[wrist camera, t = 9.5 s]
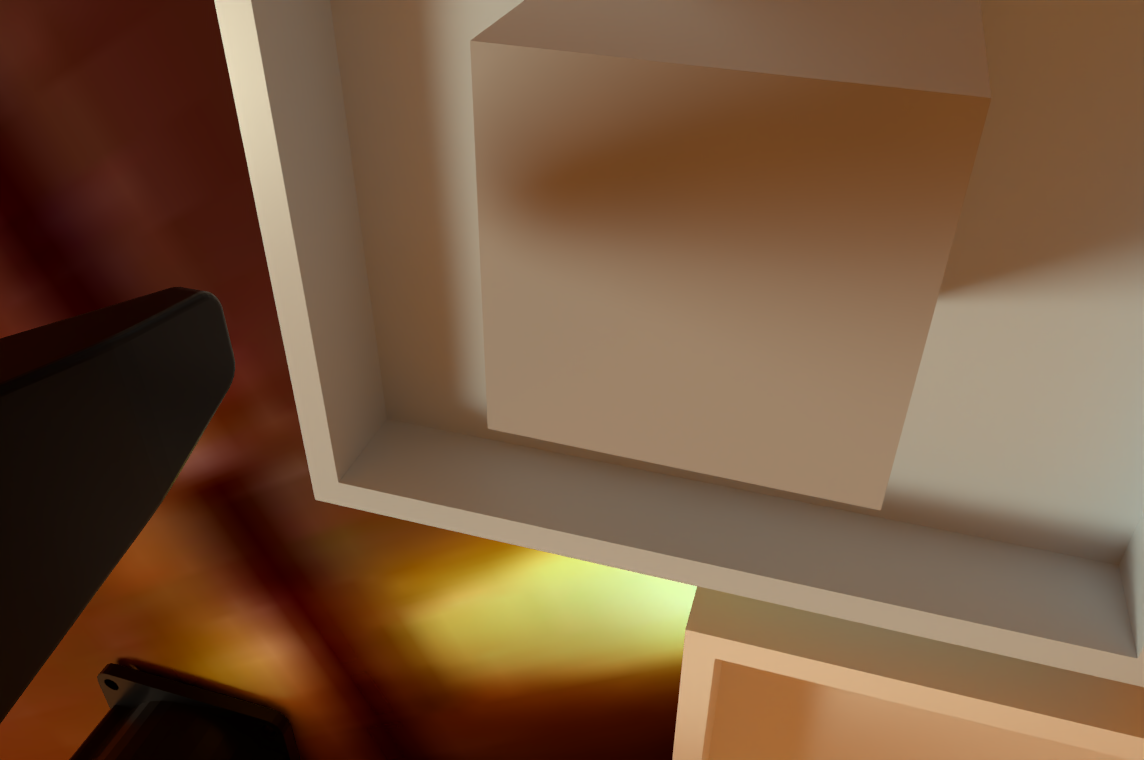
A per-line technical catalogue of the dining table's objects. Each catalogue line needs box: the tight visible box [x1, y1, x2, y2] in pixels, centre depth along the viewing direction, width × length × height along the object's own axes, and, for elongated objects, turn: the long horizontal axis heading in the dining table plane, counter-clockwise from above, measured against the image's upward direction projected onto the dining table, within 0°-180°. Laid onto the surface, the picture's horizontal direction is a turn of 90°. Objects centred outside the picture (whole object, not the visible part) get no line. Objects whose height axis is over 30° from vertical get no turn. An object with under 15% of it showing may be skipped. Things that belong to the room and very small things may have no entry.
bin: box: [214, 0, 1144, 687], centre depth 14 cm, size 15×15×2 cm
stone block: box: [470, 0, 991, 511], centre depth 13 cm, size 5×5×5 cm
